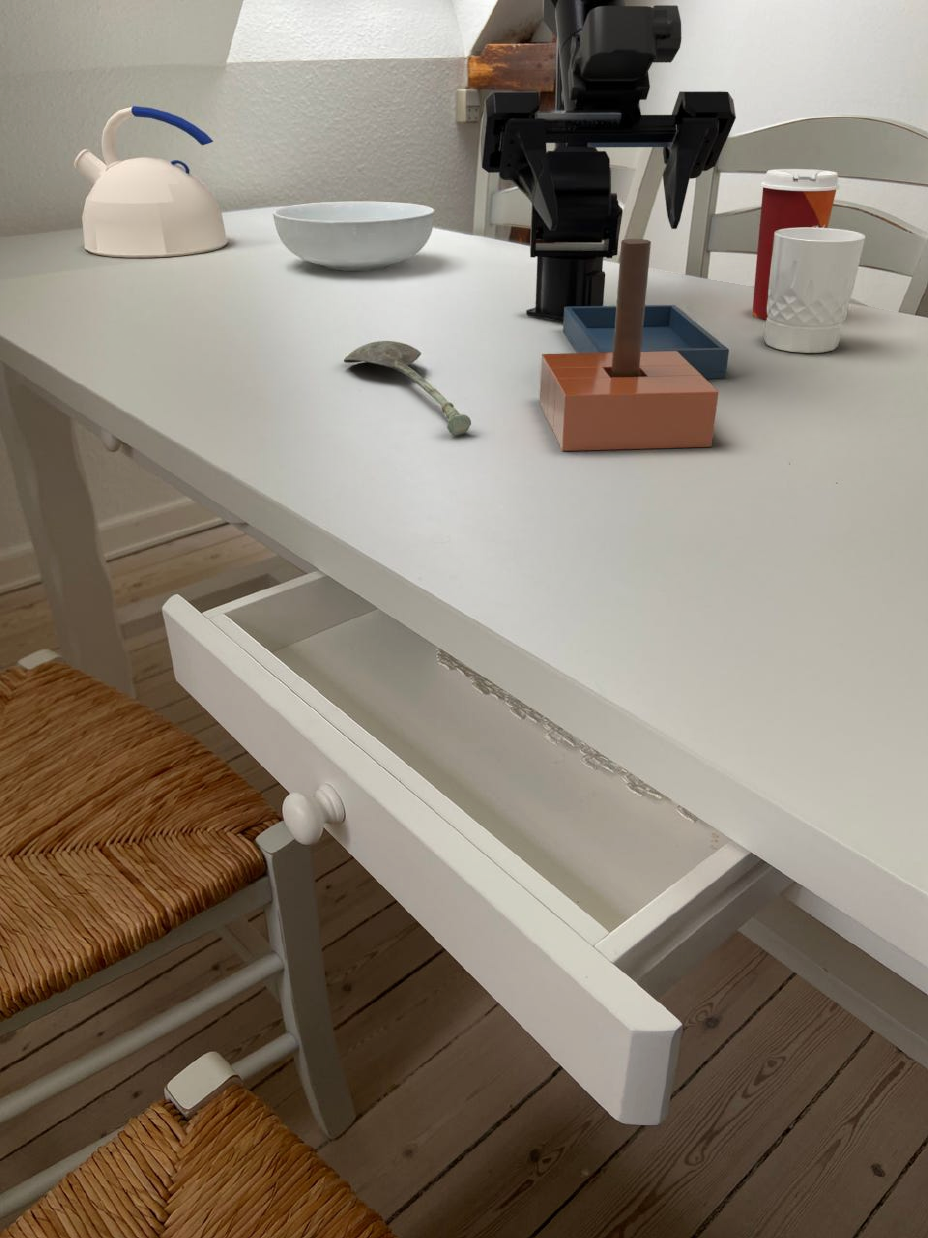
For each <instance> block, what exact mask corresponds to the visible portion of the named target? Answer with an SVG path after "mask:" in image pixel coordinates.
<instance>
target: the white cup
mask: <svg viewBox="0 0 928 1238" xmlns="http://www.w3.org/2000/svg"><path fill="white" fill-rule="evenodd" d="M865 241H866V235H865V234H864V233H861V232H857V231H853V230H848V229H841V228H830V227H828V228H812V227H802V228H786V229H780V230H777V231H775V233H774V242H773V251H772V260H771V269H770V278H769V289H768V301H767V315H768V317H767V320H765V321H766V322H765V323H766V324H765V330H764V338H763V339H764V343H765V345H767V346H769V347H770V348H774V349H775V350H780V351H785V352H791V353H799V354H800V353H802V354H822V353H828V352H832V351H835V350H836V348H838V347H839V344H840V340H841V335H842V332H843V331H842V330H843V326H844V321H845V319H846V317H847V315H848V310H849V305H850V302H851V299H852V295H853V291H854V288H855V283H856V279H857V275H858V272H859V271H858V270H859V266H860V262H861V259H862V254H863V249H864V246H865Z"/></svg>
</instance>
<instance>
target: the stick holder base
mask: <svg viewBox="0 0 928 1238" xmlns="http://www.w3.org/2000/svg"><path fill="white" fill-rule="evenodd" d="M612 356H613V353H577V352H574V353H572V352H571V353H541V365H540V366H541V367H540V389H539V390H540V393H539V405H540V407H541V409H542V412H543V414H544V416H545V418H546V420H547V421H548V424H549V426H550V428H551V430H552V432H553V435H554V436H555V439H556V441H557V443H558V445H559V447H560V449H561V451H563V452H577V451H609V450H611V451H612V450H640V449H641V450H649V449H678V448H683V449H685V448H711V447H712V443H713V437H714V429H715V423H716V414H717V407H718V400H719V390H718V389H717V388H715V387H714V386H713V385H712V384H711V383H710V381H708V379H705V378H704V377H703V376H702V375H701V374H700V373H699V372H698V371H697V370H696V369H695V368H694V367H693V366H692V365H691V364H690V363H689V362H688V361H687V360H685V359H684V358H683V357H682V356H681V355H680V354H679V353H678V352H677V351H660V352H641V355H640V366H639V377H615V378H611V369H612Z"/></svg>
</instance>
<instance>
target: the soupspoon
mask: <svg viewBox="0 0 928 1238" xmlns="http://www.w3.org/2000/svg"><path fill="white" fill-rule="evenodd" d="M421 355H422V352H421V351H420V350H419V349H417V348H415V347H414V346H412V345H410V344H407V343H404V342H400V341H395V340H394V341H393V340H377V341H373V342H368V343H366V344H364V345H361V346H358V347H357V348H356V349H354V350H353V351H351V352H350V353H349V354H347V356H346V357H345V358H343V362H344V363H346V364H347V363H348V364H352V363H361V362H363V363H370V364H374V365H379V366H382V367H383V366H384V367H387V368H391V369H394V370H397V371H398V372H400V373H402V374H403V375H405V376H406V377H408V378H410V379H411V380H412V381H413V382H414V383H416V384H417V385H418V386H419V387H420V388H422V389H423V390H424V391H425V392H426V393H427V394H428V395H429V396H430V397H432V399H433V400H435V401H436V402H437V404H439V405H440V406H441V408H440V409H441V411H442V413H444V414H445V417H446V418H447V421H448V424H447V430H448V432H449V433H450V434H451V435H452V436H453V435H454V436H461V435H464V434H466V433H467V432H468V431H469V429H470V427H471V425H472V420H471V417H470V416H469V415H468V414H464V413H460V412H459V411H458V410H457V408H455V405H454V404H453V403H452V402H450V401H449V400H447V399H446V398H445V397H444V396H443V395H442V394H441V392H440V391H438V390H437V389H436V388H435V387H434V386H433V385H432V384H431V383H429V382H428V380H426V379H425V378H423V377H422V376H421V375H420V374H419V373H418V372H416V371H415V370H414V369H412V368H411V367H409V365H411V364H413V363H414V362H416V361H417V360H418V359H419V358H420V357H421Z"/></svg>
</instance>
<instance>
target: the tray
mask: <svg viewBox="0 0 928 1238" xmlns="http://www.w3.org/2000/svg"><path fill="white" fill-rule="evenodd" d="M615 317H616V305H603V306H574V307H564V322H562V323H563V324H562V325H563V326H562V333H563V334H564V336H565V337H566V338H567V341H568V342H569V343H570V344H571V346H572V347H573V349H574V350H575V351H576V352H575V353H613V343H614V330H615ZM660 351H677V352H678V353H679V354H680V355H681V356H682V357H683V358H684V359H685V360H687V361H688V362H689V363H690V364H691V365H692V366H693V367H694V368H695V369H696V370H697V371H698V372H699V373H700V374H701V375H702V376H703V377H704V378H705V379H706V380H713V379H714V380H716V379H718V380H719V379H720V380H721V379H726V377H727V376H726V375H727V367H728V359H729V353H730V349H729V348H728V347H727V346H726V345H724V344H723V342H721V341H720V340H719V339H717V338H716V337H715V336H714V335H712V334H711V333H710V332H709V331H708V330H706V329H705V328H704V327H703V326H701V325H700V324H699V323H698V322H696V321H695V320H694V319H693V318H692V317H690V316H689V315H688V314H687V313H686V312H684V311H683V310H682V309H680V308H679V307H678V305H676V304H645V312H644V323H643V334H642V345H641V352H660Z"/></svg>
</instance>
